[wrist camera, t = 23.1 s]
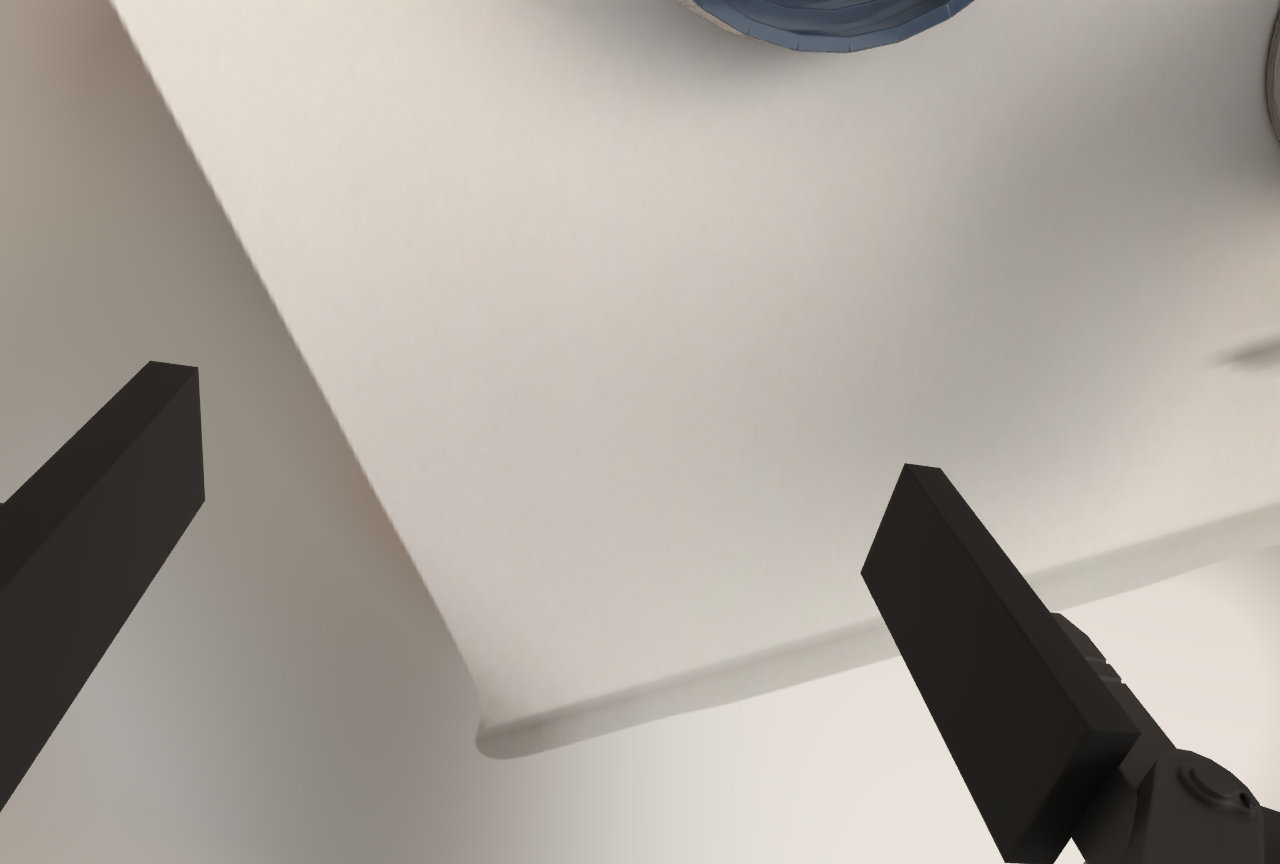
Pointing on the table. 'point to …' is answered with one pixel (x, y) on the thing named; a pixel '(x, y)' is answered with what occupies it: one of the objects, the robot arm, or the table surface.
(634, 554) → the table surface
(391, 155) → the table surface
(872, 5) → the bowl
